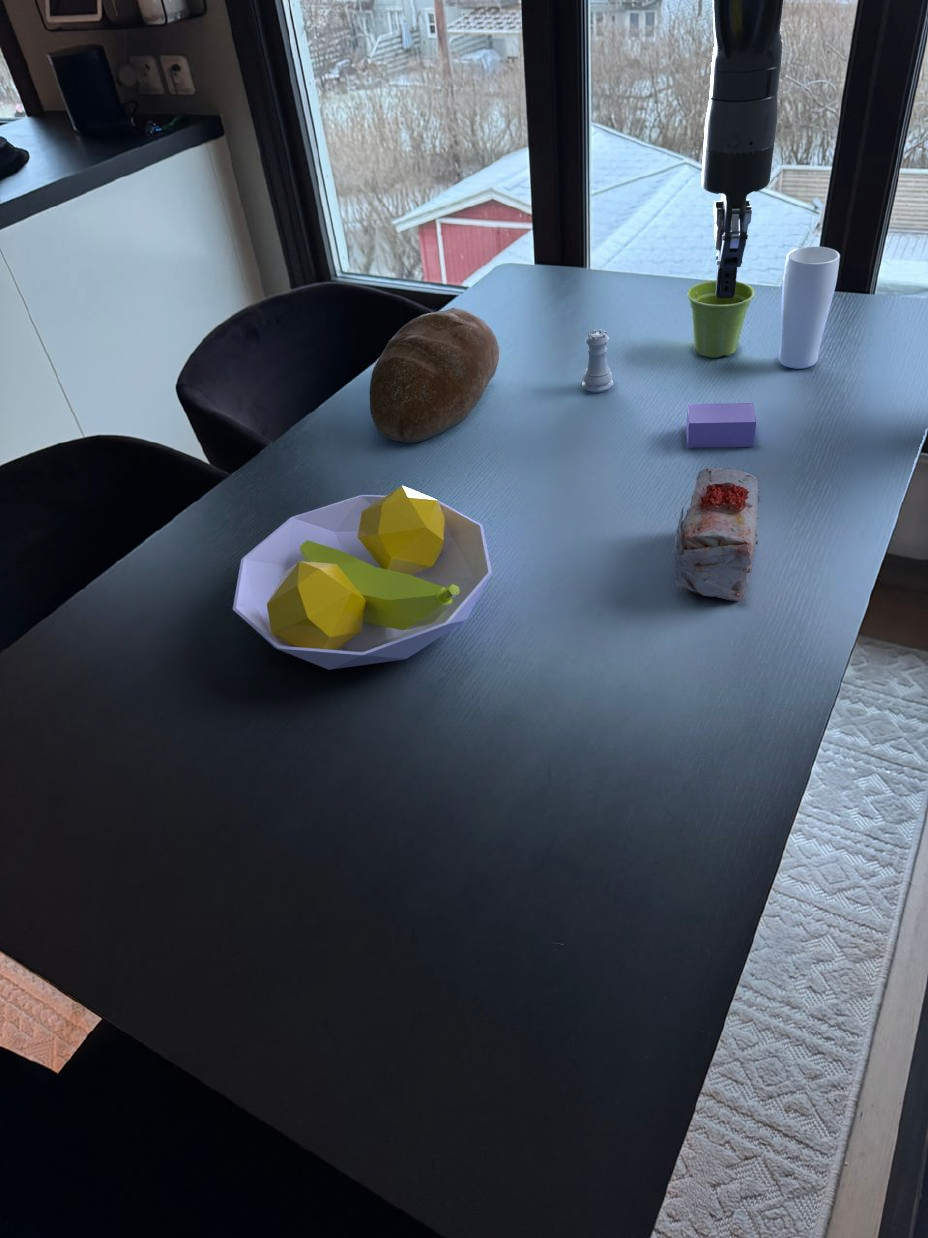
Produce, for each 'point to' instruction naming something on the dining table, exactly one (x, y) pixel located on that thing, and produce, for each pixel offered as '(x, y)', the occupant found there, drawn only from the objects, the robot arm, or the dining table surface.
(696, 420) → the lavender block
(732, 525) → the food item
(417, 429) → the bread
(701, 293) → the plant pot
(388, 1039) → the dining table surface
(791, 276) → the drinking glass
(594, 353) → the rook chess piece
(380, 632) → the fruit bowl
